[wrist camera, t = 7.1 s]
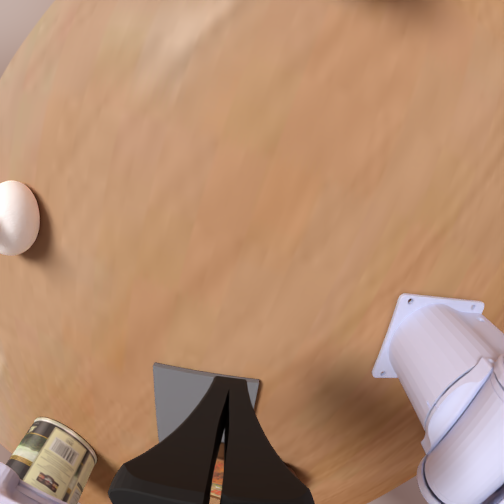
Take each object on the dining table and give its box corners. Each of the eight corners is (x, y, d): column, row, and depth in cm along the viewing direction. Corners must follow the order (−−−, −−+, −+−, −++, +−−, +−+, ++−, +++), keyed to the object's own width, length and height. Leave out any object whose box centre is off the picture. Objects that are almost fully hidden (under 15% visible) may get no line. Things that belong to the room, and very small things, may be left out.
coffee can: (40, 444, 32) (2, 507, 18) (29, 404, 29) (-23, 476, 15) (99, 474, 33) (69, 546, 19) (96, 439, 30) (54, 526, 16)
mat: (259, 379, 25) (259, 383, 25) (236, 485, 31) (235, 488, 30) (154, 362, 25) (153, 365, 25) (164, 473, 31) (163, 476, 30)
